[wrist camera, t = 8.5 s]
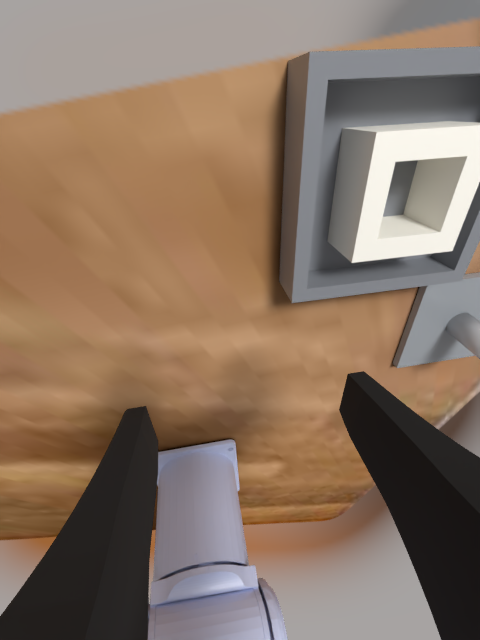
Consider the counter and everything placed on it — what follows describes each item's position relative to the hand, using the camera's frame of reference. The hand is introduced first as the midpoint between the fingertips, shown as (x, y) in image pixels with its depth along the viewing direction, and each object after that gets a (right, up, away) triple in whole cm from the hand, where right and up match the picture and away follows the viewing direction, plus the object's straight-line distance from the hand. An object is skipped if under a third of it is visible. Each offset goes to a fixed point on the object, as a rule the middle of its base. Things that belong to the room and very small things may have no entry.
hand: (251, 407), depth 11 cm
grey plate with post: (+16, +3, +13) cm, 21 cm away
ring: (+7, +10, +5) cm, 14 cm away
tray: (+7, +11, +6) cm, 14 cm away
